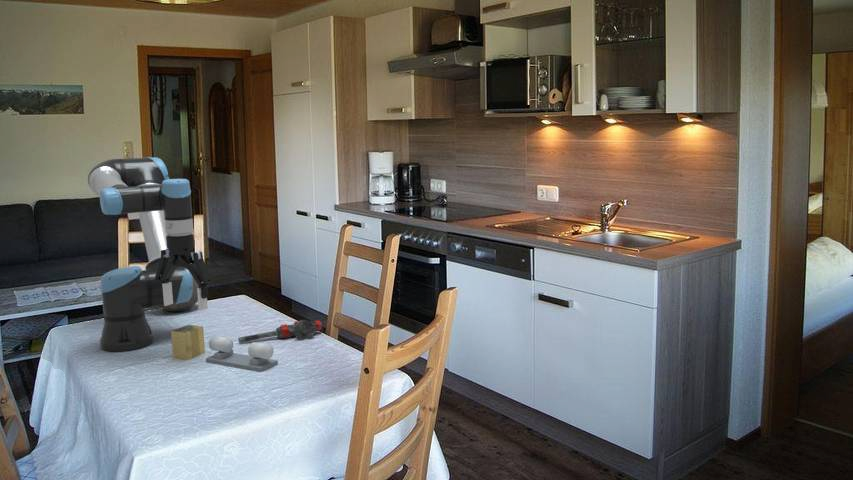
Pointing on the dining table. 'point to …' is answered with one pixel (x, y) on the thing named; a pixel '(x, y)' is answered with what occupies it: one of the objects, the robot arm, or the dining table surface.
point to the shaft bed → (255, 361)
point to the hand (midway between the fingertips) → (185, 307)
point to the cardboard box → (188, 342)
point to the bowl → (184, 305)
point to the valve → (289, 331)
